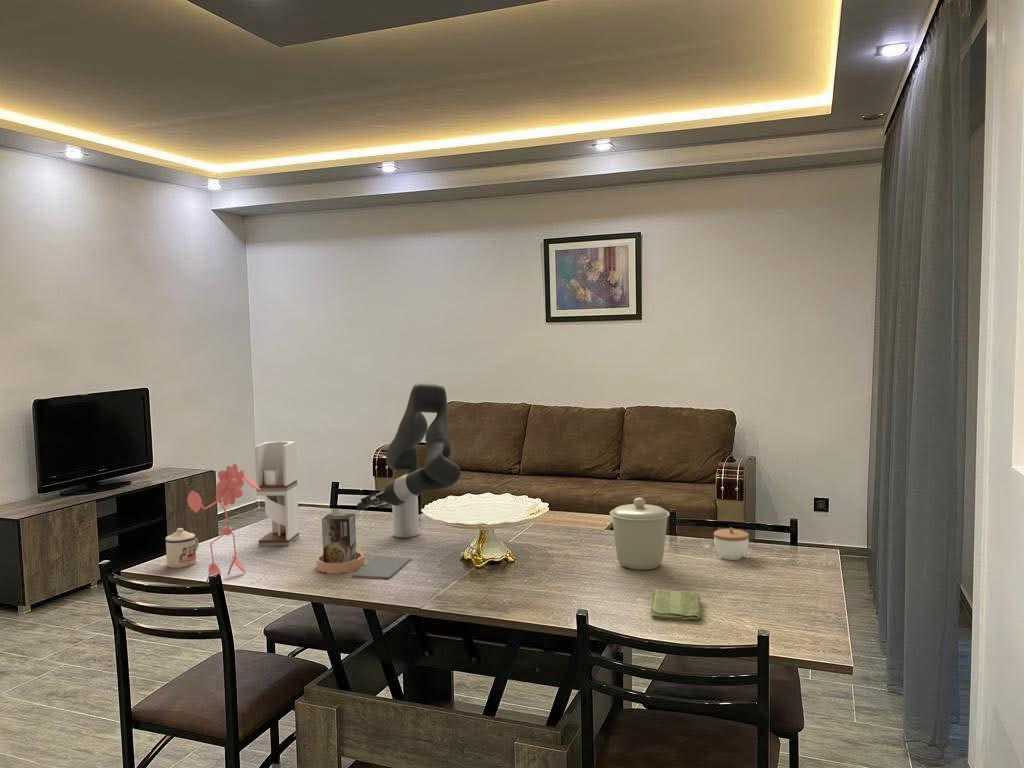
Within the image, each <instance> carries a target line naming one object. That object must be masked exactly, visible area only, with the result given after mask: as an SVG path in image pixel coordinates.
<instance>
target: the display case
mask: <svg viewBox="0 0 1024 768" xmlns="http://www.w3.org/2000/svg"><path fill="white" fill-rule="evenodd" d="M296 445H297V444H296V441H265V442H262V443H260V444H257V445H255V446H254V459H255V461H254V463H255V465H254V466H255V481H256V482H255V483H256V484H257V485H258V486H259V488H260V489H261V491H260V490H258V489H255V490H256V497H258V496H260V497H262V496H264V507H265V510H264V511H265V515H266V517H267V518H268V519H270V520H271V531H269V532H268V533H267V534H265V535H264V536H263V537H261V538H260V539H258V547H274V546H273V545H277V546H276V547H279V546H278V545H285V546H284V547H287V546H286V545H289V546H291V545H292V544H293V543H294V542H295V541H297V540H298V539H299V538H300V525H299V522H300V521H299V496H298V468H297V466H298V465H297V446H296ZM298 537H299V538H298ZM297 538H298V539H297ZM296 539H297V540H296ZM294 540H295V541H294ZM293 541H294V542H293ZM292 542H293V543H292ZM291 543H292V544H291ZM290 544H291V545H290Z"/></svg>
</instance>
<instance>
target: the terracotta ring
mask: <svg viewBox="0 0 1024 768" xmlns="http://www.w3.org/2000/svg"><path fill="white" fill-rule="evenodd" d="M356 555H357V559H356V560H352V561H349V562H341V563H326V562H324V558H323V553H321V554H320V555H318V556H316V557H315V560H316V562H315V564H316V570H319V571H318V572H320V571H322V572H321V573H323V572H327V573H326V574H342V573H343V572H345V573H351V572H353V571H357V570H359V569H360V568H361V567H363V566H364V565H365V556H364V553H363V552H361V551H357V550H356ZM329 572H330V573H329Z"/></svg>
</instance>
